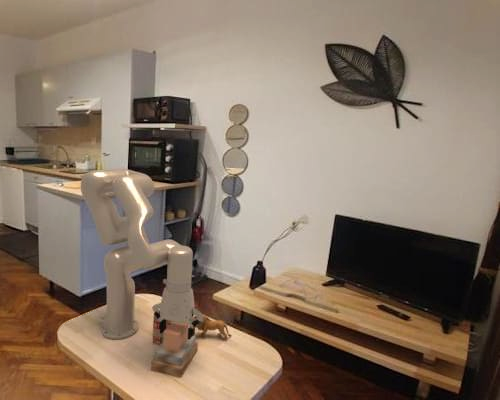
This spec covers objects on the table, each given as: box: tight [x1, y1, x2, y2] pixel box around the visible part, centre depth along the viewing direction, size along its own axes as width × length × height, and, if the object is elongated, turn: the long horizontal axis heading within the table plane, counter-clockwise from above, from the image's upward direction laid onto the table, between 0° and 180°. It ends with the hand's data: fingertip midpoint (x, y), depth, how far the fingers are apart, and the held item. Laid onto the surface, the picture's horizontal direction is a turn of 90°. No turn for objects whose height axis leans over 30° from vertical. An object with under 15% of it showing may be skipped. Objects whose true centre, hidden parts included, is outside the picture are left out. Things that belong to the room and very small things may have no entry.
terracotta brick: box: [163, 321, 190, 352], centre depth 109 cm, size 5×8×6 cm, turn 167°
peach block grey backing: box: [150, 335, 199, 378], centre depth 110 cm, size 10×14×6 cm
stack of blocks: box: [152, 308, 173, 345], centre depth 127 cm, size 21×6×12 cm, turn 173°
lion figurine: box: [193, 315, 232, 342], centre depth 124 cm, size 15×5×9 cm, turn 97°
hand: (176, 334), depth 109 cm, fingers open, 9 cm apart
